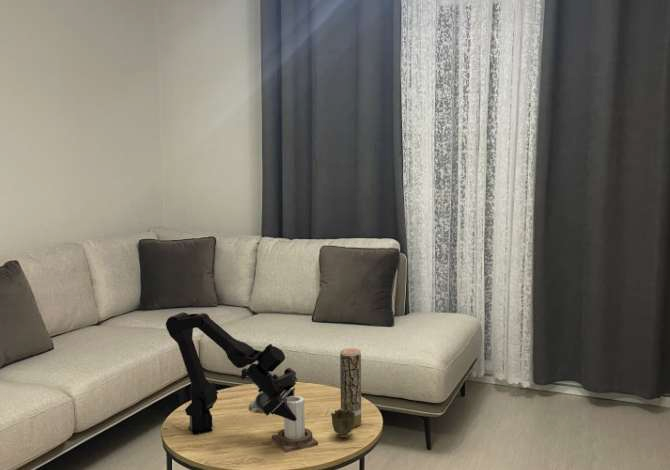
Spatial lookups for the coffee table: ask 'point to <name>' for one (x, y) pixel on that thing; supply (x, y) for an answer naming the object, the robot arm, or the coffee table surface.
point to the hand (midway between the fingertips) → (298, 416)
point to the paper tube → (351, 382)
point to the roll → (296, 428)
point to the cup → (343, 422)
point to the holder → (294, 441)
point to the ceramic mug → (259, 402)
